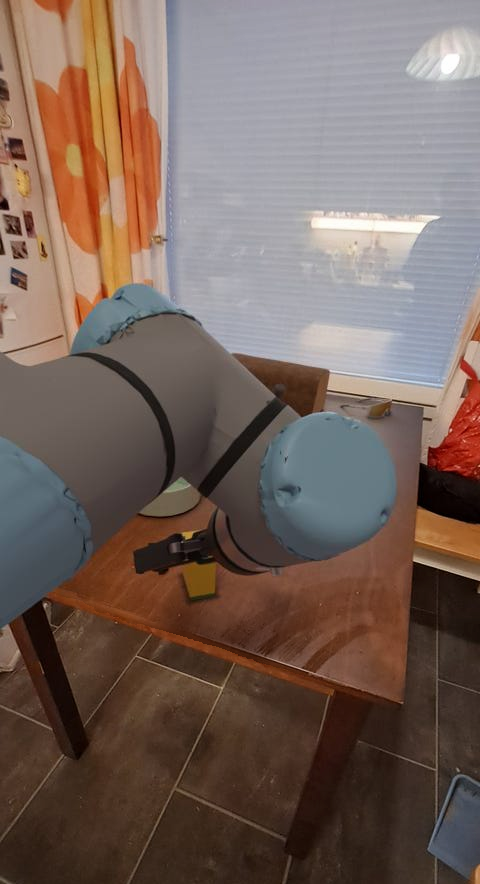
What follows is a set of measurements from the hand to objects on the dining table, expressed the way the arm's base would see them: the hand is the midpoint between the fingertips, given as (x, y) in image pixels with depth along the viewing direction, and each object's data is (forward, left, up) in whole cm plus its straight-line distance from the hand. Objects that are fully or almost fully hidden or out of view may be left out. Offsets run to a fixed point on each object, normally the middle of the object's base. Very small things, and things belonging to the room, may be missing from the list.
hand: (211, 556), depth 56 cm
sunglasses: (+40, +101, -12) cm, 109 cm away
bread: (+7, +98, -12) cm, 99 cm away
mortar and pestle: (+7, +58, -12) cm, 59 cm away
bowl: (-15, +33, -12) cm, 38 cm away
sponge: (-3, +7, -12) cm, 14 cm away
